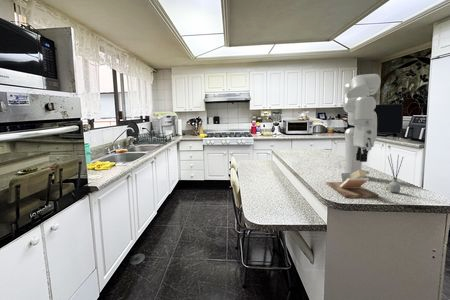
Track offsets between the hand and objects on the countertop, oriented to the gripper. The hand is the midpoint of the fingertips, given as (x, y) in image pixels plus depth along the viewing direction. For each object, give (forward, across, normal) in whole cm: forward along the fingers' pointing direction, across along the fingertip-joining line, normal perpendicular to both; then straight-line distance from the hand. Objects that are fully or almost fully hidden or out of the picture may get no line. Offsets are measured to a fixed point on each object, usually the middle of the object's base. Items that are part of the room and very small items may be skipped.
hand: (361, 160), depth 114 cm
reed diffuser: (+18, +6, -20) cm, 28 cm away
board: (+18, +9, 0) cm, 20 cm away
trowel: (+12, +10, 0) cm, 15 cm away
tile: (+16, +9, 0) cm, 18 cm away
